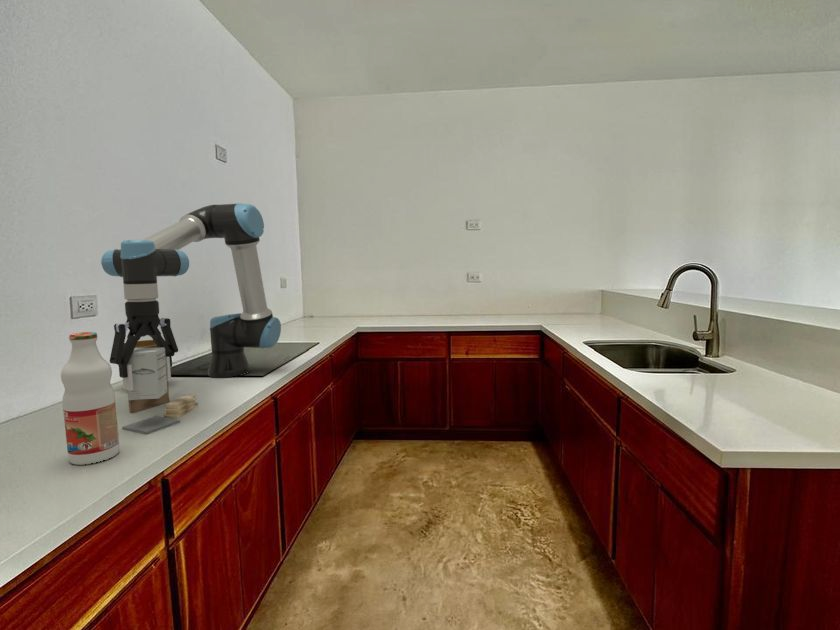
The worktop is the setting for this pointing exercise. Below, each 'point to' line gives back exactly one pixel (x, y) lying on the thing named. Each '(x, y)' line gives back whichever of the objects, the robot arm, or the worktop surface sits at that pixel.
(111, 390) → the fruit juice
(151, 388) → the supplement box
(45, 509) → the worktop surface
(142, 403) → the walnut rack
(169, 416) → the pine offcuts
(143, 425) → the slate mat
